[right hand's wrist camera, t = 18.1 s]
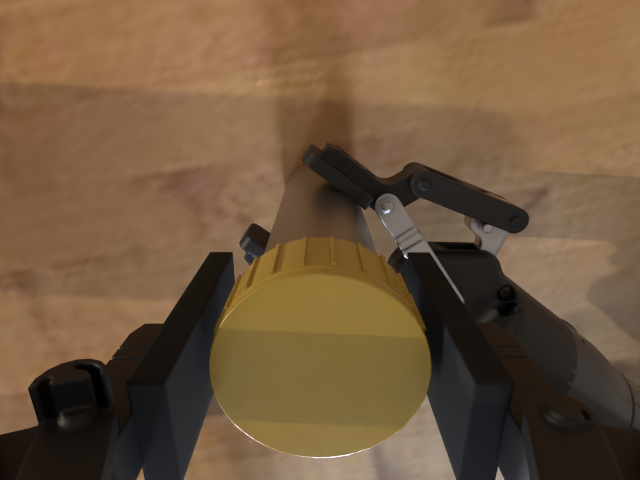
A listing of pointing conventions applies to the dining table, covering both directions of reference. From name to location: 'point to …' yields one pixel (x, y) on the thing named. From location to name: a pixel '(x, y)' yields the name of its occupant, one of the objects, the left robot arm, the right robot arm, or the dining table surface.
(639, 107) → the dining table surface
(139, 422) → the right robot arm
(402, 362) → the lid
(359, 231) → the jar
